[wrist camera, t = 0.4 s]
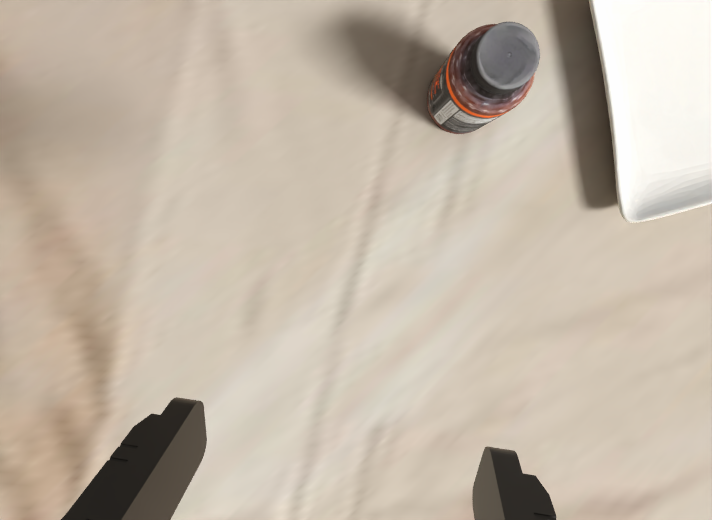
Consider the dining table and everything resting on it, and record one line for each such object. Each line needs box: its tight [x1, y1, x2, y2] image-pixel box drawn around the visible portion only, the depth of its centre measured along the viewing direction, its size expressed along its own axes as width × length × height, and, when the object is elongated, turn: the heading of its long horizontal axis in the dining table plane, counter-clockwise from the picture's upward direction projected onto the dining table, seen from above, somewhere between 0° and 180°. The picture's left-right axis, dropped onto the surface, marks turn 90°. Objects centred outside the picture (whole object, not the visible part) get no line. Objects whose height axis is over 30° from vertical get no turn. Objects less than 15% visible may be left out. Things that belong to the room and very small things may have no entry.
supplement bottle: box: [427, 22, 540, 134], centre depth 31 cm, size 6×6×11 cm
